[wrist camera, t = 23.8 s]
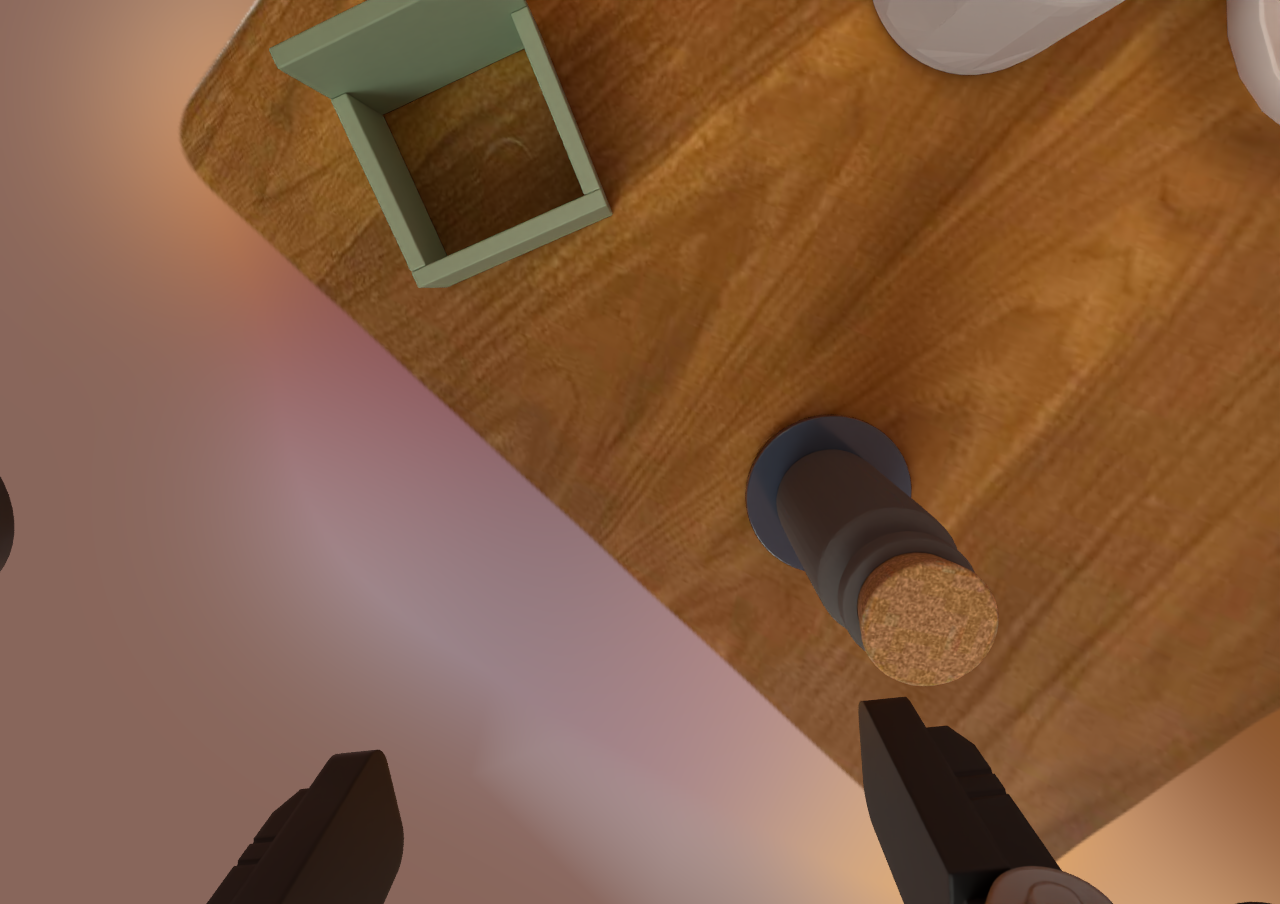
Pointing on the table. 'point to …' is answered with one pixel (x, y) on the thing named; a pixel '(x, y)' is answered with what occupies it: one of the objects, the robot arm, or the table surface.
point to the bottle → (886, 569)
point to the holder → (412, 67)
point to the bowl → (1257, 49)
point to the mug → (983, 29)
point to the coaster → (803, 442)
